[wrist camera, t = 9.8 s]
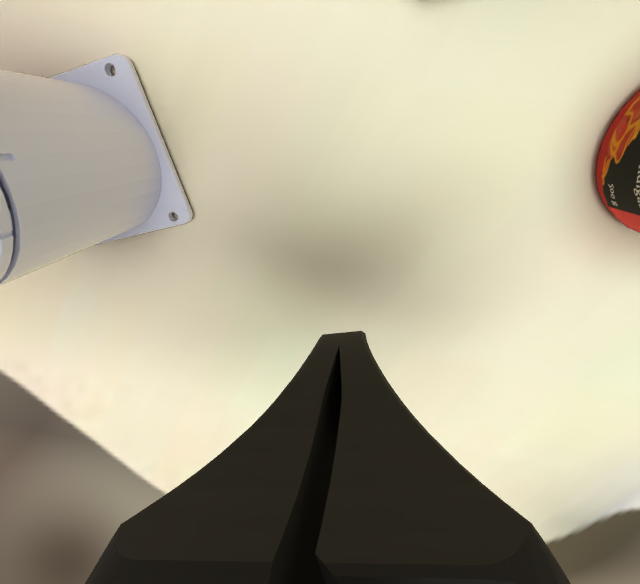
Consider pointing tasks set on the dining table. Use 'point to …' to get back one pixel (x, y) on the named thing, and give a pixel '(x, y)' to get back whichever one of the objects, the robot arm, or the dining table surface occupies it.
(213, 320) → the dining table surface
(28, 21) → the dining table surface
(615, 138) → the canned food
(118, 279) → the dining table surface
